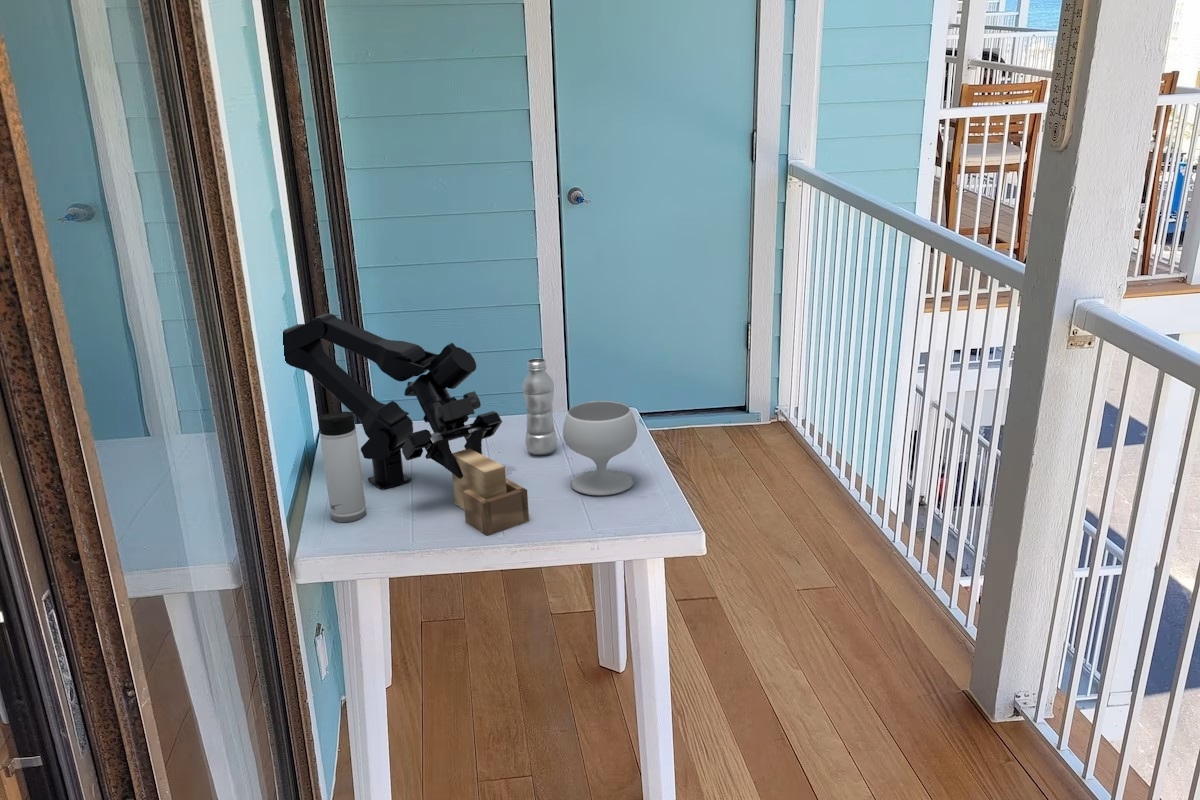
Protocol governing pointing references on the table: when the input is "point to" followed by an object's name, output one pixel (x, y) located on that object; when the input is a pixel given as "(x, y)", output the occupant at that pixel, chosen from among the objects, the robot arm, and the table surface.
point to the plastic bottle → (539, 408)
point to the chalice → (600, 443)
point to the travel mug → (342, 466)
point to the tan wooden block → (478, 476)
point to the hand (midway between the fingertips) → (471, 474)
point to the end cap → (497, 509)
